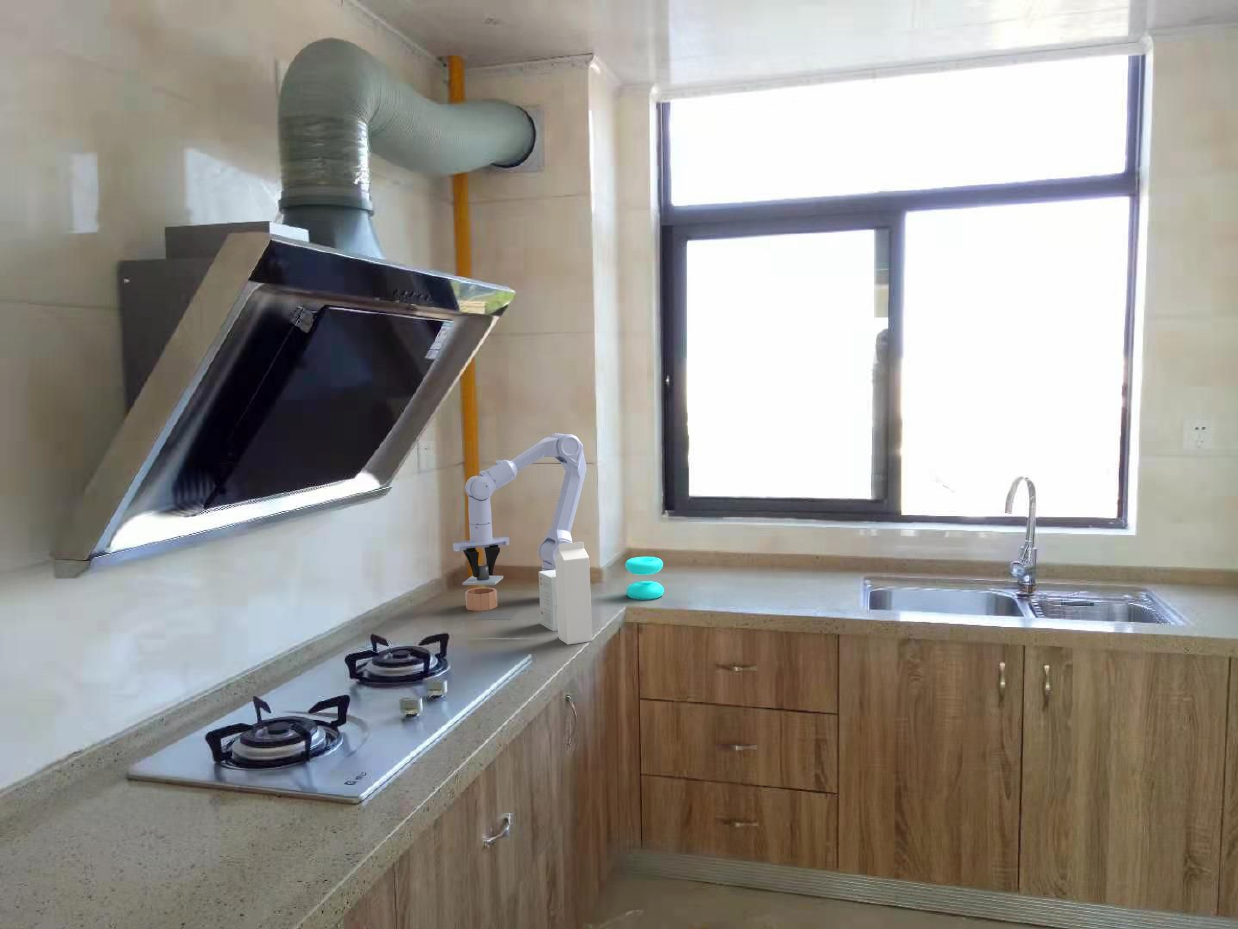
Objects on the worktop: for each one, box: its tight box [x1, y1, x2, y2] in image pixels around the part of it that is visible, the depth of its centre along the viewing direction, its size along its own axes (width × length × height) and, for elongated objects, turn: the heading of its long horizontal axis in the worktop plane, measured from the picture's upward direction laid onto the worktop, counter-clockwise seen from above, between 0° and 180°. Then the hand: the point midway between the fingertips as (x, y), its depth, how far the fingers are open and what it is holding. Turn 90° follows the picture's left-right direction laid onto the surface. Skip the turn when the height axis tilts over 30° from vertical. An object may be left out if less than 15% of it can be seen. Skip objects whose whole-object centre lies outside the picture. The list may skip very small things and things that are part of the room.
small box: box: [538, 570, 558, 632], centre depth 223 cm, size 8×6×13 cm
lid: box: [462, 563, 504, 586], centre depth 242 cm, size 8×8×4 cm
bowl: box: [464, 587, 498, 612], centre depth 245 cm, size 8×8×4 cm
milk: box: [555, 541, 593, 645], centre depth 211 cm, size 6×6×22 cm
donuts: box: [624, 556, 665, 601], centre depth 251 cm, size 10×10×10 cm
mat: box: [474, 610, 520, 621], centre depth 235 cm, size 9×9×1 cm
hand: (483, 576), depth 242 cm, fingers closed on lid, 3 cm apart
